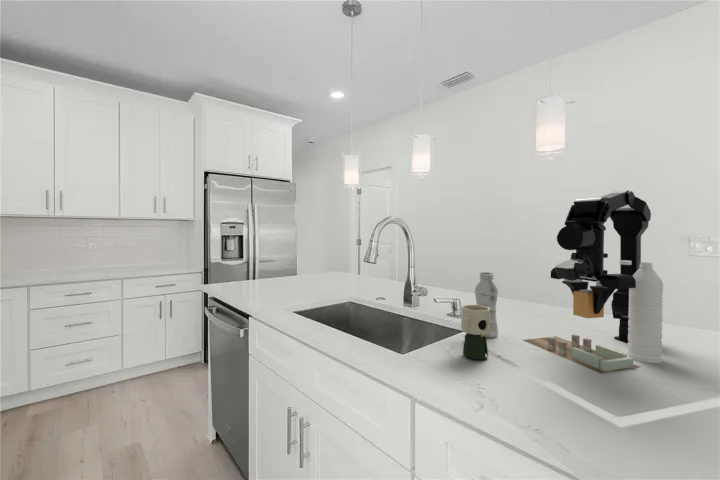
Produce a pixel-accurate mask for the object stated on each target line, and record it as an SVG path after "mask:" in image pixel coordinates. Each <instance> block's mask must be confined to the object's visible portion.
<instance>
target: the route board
mask: <svg viewBox="0 0 720 480" xmlns="http://www.w3.org/2000/svg"><path fill="white" fill-rule="evenodd" d="M580 337H581V336H580V335H579V334H577V333H575V334H571V341H570V340H567V339H565V338H562V337H560V336H556V335H555V336H547V337H545V336H544V337H537V338H528V339H522V341H523V342H526V343H529V344H531V345H533V346H535V347H538V348H540V349H542V350H544V351H547V352H550V353H551V354H555V355H557V356H559V357H561V358H563V359H566V360H569V361H570V362H573V363H575V364H578V365H580V366H583V367H585V368H587V369H590V370H592V371H594V372H597V373H599V374H605V373H613V372H619V371H625V370H631V369H638V368H640V365H639V366H638V365H637V364H634V363H633V367H630V368H624V369H617V370H610V371H603V370H601V368H600V369H598V368H595V367H593V366H591V365H588V364H586V363H583V362H581V361H578V360H576V359H574V358H572V348H578V349H581V350H583V351H586V352H589V353H591V354H594V355H596V349H593V348H592V339H590V338H588V337H586V338H583V339H582V345H581V344H580ZM597 356H598V355H597ZM599 357H600V356H599ZM604 360H609V359H606V358H603V357H602V361H604Z"/></svg>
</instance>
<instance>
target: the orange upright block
mask: <svg viewBox="0 0 720 480" xmlns="http://www.w3.org/2000/svg"><path fill="white" fill-rule="evenodd" d="M572 295H573V294H572ZM572 297H573V303H572V304H573V305H572V308H573V311H572V314H573V315H574V316H576V317H581V318H584V319H598V318H600V319H601V318H604V316H605V314H604V313H605V307H604V306H605V305H604V306H603V308H602V309H601V311H600V313H599V314H594V308H593V291H592V290H591V288H588V289H583V290H580V291H574V295H573V296H572Z"/></svg>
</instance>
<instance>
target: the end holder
mask: <svg viewBox="0 0 720 480" xmlns="http://www.w3.org/2000/svg"><path fill="white" fill-rule="evenodd" d="M595 351H596V355H594V354H591V353H589V352H586V351H583V350H581V349H578V348H572V358H574V359H576V360H578V361H581V362H583V363H586V364H588V365H591V366H593V367H595V368H598V369H600V368H601V370H603V371H610V370H617V369H624V368H630V367H633V364H634V359H633V358H631V357H628V353H624V352H621V351H619V350H616V349H613V348H610V347H608V346H604V345H601V344H595ZM597 355H598V356H597ZM599 356H600V357H599ZM602 357H603V358H606V359H609V360H604V361H602Z"/></svg>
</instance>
